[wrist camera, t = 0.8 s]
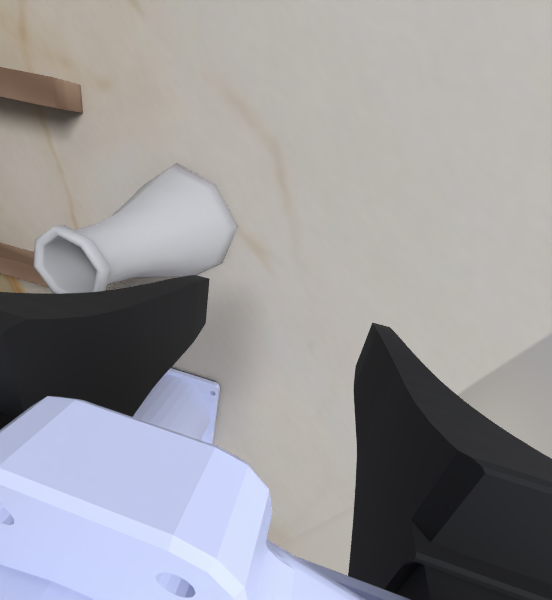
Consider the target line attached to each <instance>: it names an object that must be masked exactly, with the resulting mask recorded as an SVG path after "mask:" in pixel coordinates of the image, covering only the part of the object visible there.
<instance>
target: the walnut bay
mask: <svg viewBox="0 0 552 600" xmlns="http://www.w3.org/2000/svg"><path fill="white" fill-rule="evenodd" d="M0 97H5V98H10V99H15V100H19V101H24V102H29V103H34V104H39V105H43V106H48V107H53V108H58V109H64V110H69V111H75V112H81V113H83V110H82V100H81V89H80V85H78V84H75V83H71V82H67V81H64V80H60V79H57V78H53V77H49V76H43V75H38V74H33V73H28V72H23V71H18V70H13V69H7V68H2V67H0ZM33 265H34V252H31V251H27V250H24V249H20V248H16V247H13V246H9V245H6V244H2V243H0V273H2V274H5V275H9V276H12V277H16V278H19V279H22V280H26V281H29V282H33V283H36V284H39V285H43V286H46V287H49V286H48V285H47V284H46V282H45V281H44V280H43V278H42V277H41V276H40V274H39V273H38V272H37V270H36V269H35V268H34V266H33Z"/></svg>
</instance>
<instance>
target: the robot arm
mask: <svg viewBox="0 0 552 600" xmlns="http://www.w3.org/2000/svg"><path fill="white" fill-rule="evenodd" d="M208 289H209V279H208V278H204V277H201V276H197V275H189V276H183V277H178V278H173V279H168V280H164V281H159V282H155V283H150V284H145V285H139V286H134V287H129V288H123V289H116V290H108V291H98V292H86V293H62V294H32V293H8V292H0V600H552V459H551V458H549V457H547V456H546V455H544V454H542V453H541V452H539V451H537V450H535V449H534V448H532V447H531V446H529V445H527V444H526V443H524V442H523V441H521V440H519V439H518V438H516V437H514V436H513V435H511V434H510V433H508V432H507V431H505V430H504V429H502V428H501V427H499V426H498V425H496V424H495V423H493V422H492V421H491V420H489V419H488V418H486V417H485V416H483V415H482V414H481V413H479V412H478V411H477V410H475V409H474V408H472V407H471V406H470V405H469V404H467V403H466V402H464V401H463V400H462V399H461V398H460V397H459V396H457V395H456V394H455V393H454V392H453V391H451V390H450V389H449V388H448V387H447V386H446V385H445V384H443V383H442V382H441V381H440V380H439V379H438V378H437V377H436V376H435V375H434V374H433V373H432V372H431V371H430V370H429V369H428V368H427V367H426V366H425V365H424V364H423V363H422V362H421V361H420V360H419V359H418V358H417V357H416V356H415V355H414V353H413V352H412V351H411V350H410V349H409V348H408V347H407V346H406V344H405V343H404V342H403V341H402V340H401V339H400V338H399V337H398V335H397V334H396V333H395V332H394V331H393V330H392V329H391V328H390V327H387V326H383V325H379V324H375V323H372V325H371V328H370V331H369V333H368V336H367V338H366V341H365V344H364V346H363V349H362V351H361V354H360V357H359V359H358V362H357V365H356V369H355V379H354V404H355V421H356V437H357V468H356V487H355V503H354V517H353V518H354V519H353V530H352V542H351V553H350V563H349V573H348V576H347V575H344V574H341V573H338V572H336V571H333V570H331V569H328V568H325V567H323V566H320V565H317V564H315V563H312V562H309V561H306V560H304V559H301V558H299V557H296V556H294V555H292V554H290V553H288V552H287V551H285V550H283V549H282V548H280V547H279V546H277V545H275V544H274V543H272V542H271V541H269V540H267V534H268V530H269V526H270V521H271V517H272V507H271V499H270V491H269V489H268V487H267V486H266V485H265V483H264V482H263V481H262V480H261V478H260V477H259V476H258V475H257V474H256V473H255V471H254V470H253V469H252V468H251V467H250V465H249V464H248V463H247V462H246V461H244V460H242V459H240V458H239V457H237V456H235V455H233V454H231V453H229V452H228V451H226V450H224V449H222V448H220V447H218V446H216V445H213V439H214V431H215V423H216V415H217V408H218V400H219V392H220V386H219V384H218V383H216V382H213V381H210V380H207V379H204V378H201V377H198V376H194V375H191V374H188V373H185V372H182V371H178V370H175V369H172V368H171V367H172V366H173V365H174V364H175V362H176V361H177V360H178V359H179V358H180V357H181V356H182V355H183V353H184V352H185V351H186V350H187V349H188V348H189V347H190V345H191V344H192V343H193V342H194V340H195V339H196V337H197V336H198V334H199V333H200V331H201V330H202V328H203V326H204V325H205V323H206V312H207V300H208ZM213 391H214V392H213Z"/></svg>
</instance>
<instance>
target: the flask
mask: <svg viewBox="0 0 552 600" xmlns="http://www.w3.org/2000/svg"><path fill="white" fill-rule="evenodd" d="M237 227H238V226H237V224H236V222H235V220H234V219H233V217H232V215H231V213H230V211H229V209H228V207H227V205H226V203H225V201H224V199H223V197H222V195H221V194H220V192H219V190H218V188H217V186H216V185H215V184H213V183H211V182H210V181H208V180H206V179H204V178H202V177H201V176H199V175H197V174H195V173H193V172H192V171H190V170H188V169H186V168H184V167H183V166H181V165H179V164H177V163H176V164H175V165H173V166H172V167H170V168H169V169H167V170H166V171H164V172H163V173H161V174H160V175H158V176H157V177H155V178H154V179H152V180H151V181H149V182H148V183H146V184H145V185H144V186H143V187H141V188H140V189H139V190H138V191H137V192H136V193H135V194H134V195H133V196H132V197H131V198H130V200H129V201H128V202H127V203H126V204H124V205H123V206H122V207H121V208H120V209H119V210H118V211H116V212H115V213H114V214H113V215H112V216H111V217H109V218H107V219H105V220H103V221H102V222H100V223H98V224H95V225H92V226H88V227H84V228H81V229H76V230H72V229H71V228H69V227H67V226H65V225H58V226H54V227H53V228H51V229H50V230H49V231H47V232H46V233H44V234H43V235H41V236H40V237H39V238H37V239H36V240H35V250H34V265H33V266H34V268H35V269H36V270H37V272H38V273H39V274H40V276H41V277H42V278H43V280H44V281H45V282H46V284H47V285H48V286H49V287H50V289H51V290H52V291H53V292H54V293H55V294H62V293H86V292H98V291H106V287H107V285H108V284H110V283H114V282H118V281H122V280H126V279H130V278H134V277H155V276H171V277H183V276H189V275H197V274H199V273H201V272H203V271H205V270H207V269H210V268H212V267H214V266H216V265H218V264H220V263H222V262H223V260H224V258H225V256H226V253H227V251H228V248H229V246H230V244H231V241H232V239H233V236H234V234H235V232H236V229H237Z"/></svg>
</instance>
